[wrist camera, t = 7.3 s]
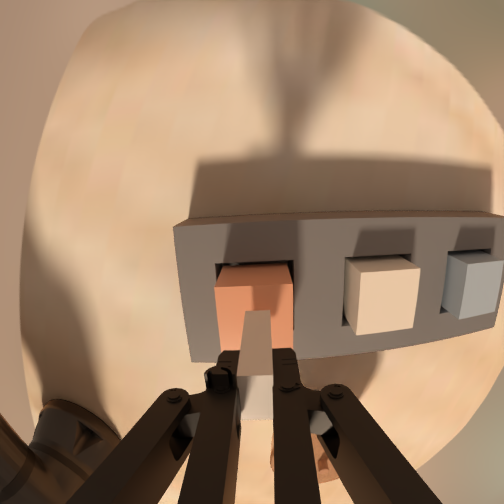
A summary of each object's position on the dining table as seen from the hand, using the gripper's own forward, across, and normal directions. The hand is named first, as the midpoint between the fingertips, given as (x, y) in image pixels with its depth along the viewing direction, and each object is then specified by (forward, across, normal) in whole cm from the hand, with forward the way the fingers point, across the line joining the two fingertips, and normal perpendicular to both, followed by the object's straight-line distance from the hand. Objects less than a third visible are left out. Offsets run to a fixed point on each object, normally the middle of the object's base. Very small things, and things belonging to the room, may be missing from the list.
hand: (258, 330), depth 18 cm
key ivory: (+8, +10, 0) cm, 13 cm away
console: (+11, +10, 0) cm, 14 cm away
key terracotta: (+7, 0, 0) cm, 7 cm away
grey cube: (+8, +20, 0) cm, 21 cm away
